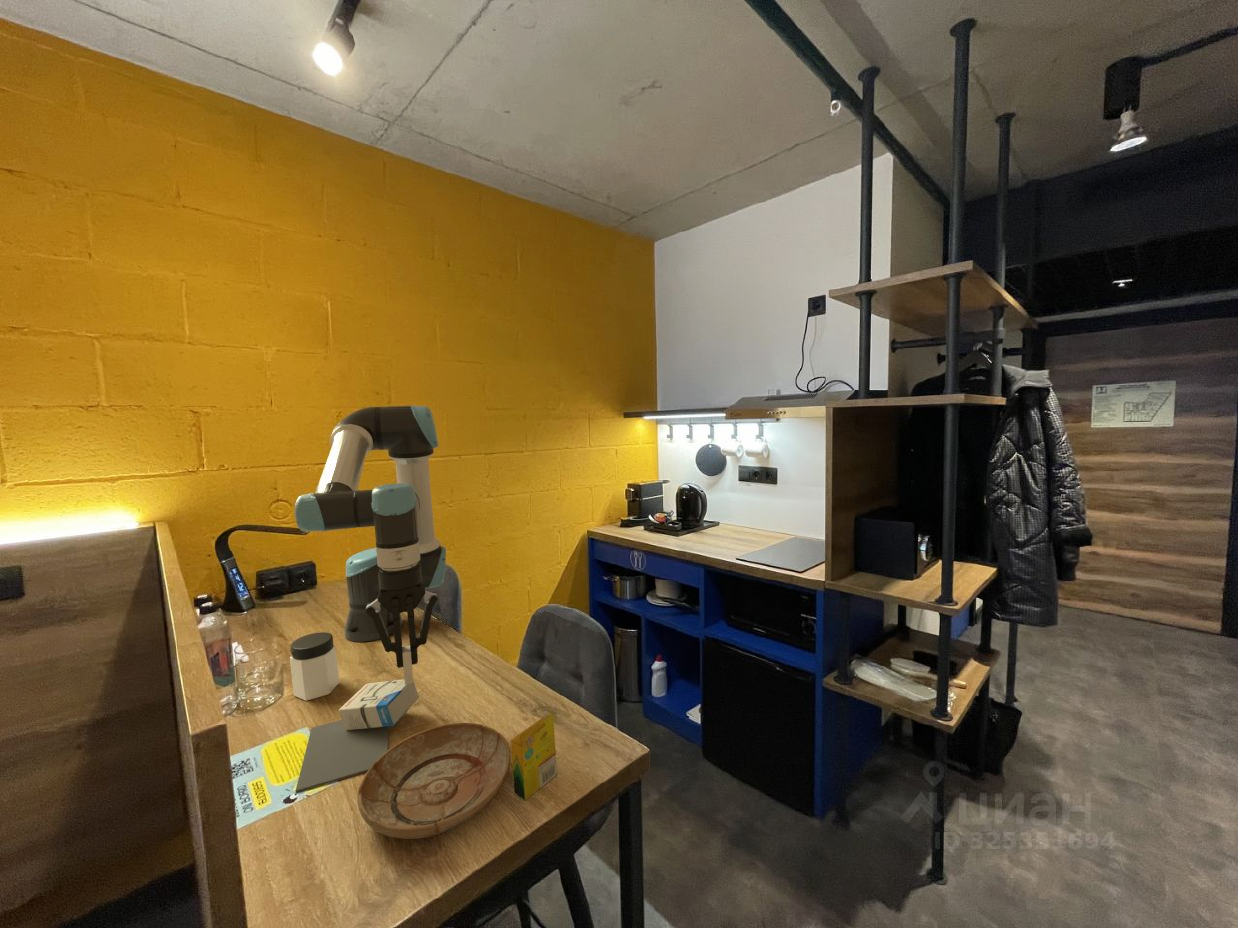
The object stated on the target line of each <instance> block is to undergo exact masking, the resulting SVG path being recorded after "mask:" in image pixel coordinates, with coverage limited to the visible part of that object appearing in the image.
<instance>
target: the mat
mask: <svg viewBox="0 0 1238 928" xmlns="http://www.w3.org/2000/svg"><path fill="white" fill-rule="evenodd" d="M388 750H389V726H385V727H375V728H365V729H354V730H346V729H345V727H344V724H343V721H342V719H341V720H337V721H333V722H328V723H324V724H320V725H316V726H313V727H311V729H310V732H309V737H308V741H307V744H306V748H305V752H304V756H303V761H302V765H301V766H300V767H301V768H300V771H299V772H300V773H299V776H298V779H297V784H296V788H295V794H296V793H300V792H302V791H303V792H304V791H307V790H310V789H313V788H317V787H320V786H323V785H327V784H330V783H333V782H338V781H341V780H344V779H347V778H351V777H354V776H357V775H361V774H363V773H365V774H366V773H367V772H368V770H369V769H370V767H371V766H372V765H373V764H374V763H375V762H376V761H377V760H378V759H379V758H380V757H381V756H382V755H383V754H384V753H385V752H386V751H388Z"/></svg>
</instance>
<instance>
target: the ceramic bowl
mask: <svg viewBox="0 0 1238 928" xmlns="http://www.w3.org/2000/svg"><path fill="white" fill-rule="evenodd" d="M510 747H511V746H510V744H509V742H508V740H507V739H506V737H504V735H502V733H500V732H499V731H498V730H496V729H494V728H492V727H489V726H486V725H484V724H480V723H472V722H457V723H456V722H455V723H448V724H442V725H438V726H433V727H430V728H428V729H425V730H422V731H419V732H417V733H414V734H412V735H410V736H408V737H407V738H404V739H402V740H401V741H399V742H398V743H397V744H394V745H393V746H392V747H390V748H388V751H386V752H385V753H384V754H383V755H382V756H381V757H380V758H379V759H378V760H377V761H376V762H375V763H374V764H373V765H372V766H371V767H370V769H369V770H368V772H365V774H364V776H363V778H362V781H361V782H360V785H359V787H358V792H357V804H358V805H357V807H358V810H359V813H360V815H361V817H362V819H363V820H364V822H365V823H366V824H367V825H368V826H369V827H370V828H371V829H373V830H375V831H376V832H377V833H380V834H382V835H385V836H387V837H390V838H394V839H403V840H404V839H406V840H407V839H408V840H413V839H423V838H429V837H434V836H437V835H440V834H443V833H445V832H449V831H451V830H453V829H455V828H457V827H459V826H461V825H463V824H465V823H467V822H468V821H470V820H471V819H473V818H474V817H476V816H478V815H479V813H481V812H483V811H484V810H485V808H487V807H488V806H489V805H490V804H491V803H492V802H493V800H495V798H496V797H497V796H498V794H499V793H500V791H501V790H502V789H503V787H504V785H505V783H506V781H507V779H508V776H509V774H510V773H509V772H510V768H511V761H512V760H511V759H512V754H511V748H510Z"/></svg>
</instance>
